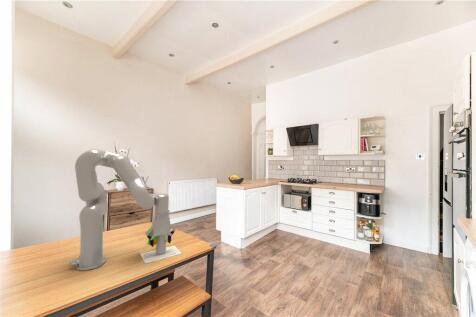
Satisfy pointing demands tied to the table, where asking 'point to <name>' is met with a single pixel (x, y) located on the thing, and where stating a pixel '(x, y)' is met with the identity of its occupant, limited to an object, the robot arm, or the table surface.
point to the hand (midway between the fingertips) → (160, 244)
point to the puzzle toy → (157, 237)
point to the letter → (154, 256)
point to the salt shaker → (160, 245)
